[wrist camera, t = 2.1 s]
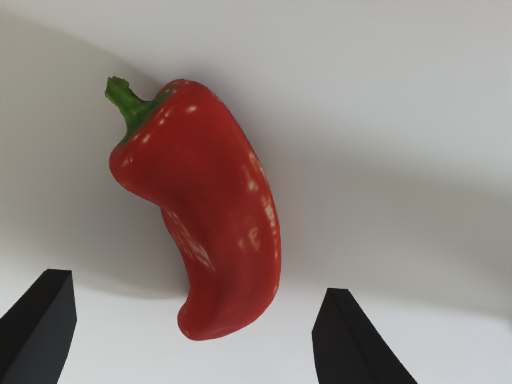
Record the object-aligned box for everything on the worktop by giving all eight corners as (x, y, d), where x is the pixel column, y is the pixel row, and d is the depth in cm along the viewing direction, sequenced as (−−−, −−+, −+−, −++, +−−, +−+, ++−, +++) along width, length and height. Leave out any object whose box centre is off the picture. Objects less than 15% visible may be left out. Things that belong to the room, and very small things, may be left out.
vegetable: (6, 126, 10) (171, 354, 18) (200, 122, 9) (290, 377, 16) (101, 42, 13) (207, 269, 21) (259, 26, 12) (311, 281, 20)
